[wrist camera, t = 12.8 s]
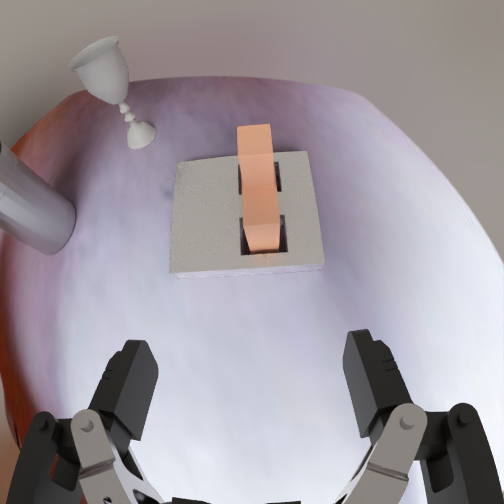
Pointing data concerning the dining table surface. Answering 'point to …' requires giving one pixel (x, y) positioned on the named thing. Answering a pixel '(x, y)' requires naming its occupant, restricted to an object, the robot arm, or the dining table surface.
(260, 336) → the dining table surface
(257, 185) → the clip
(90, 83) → the chalice
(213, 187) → the plate
